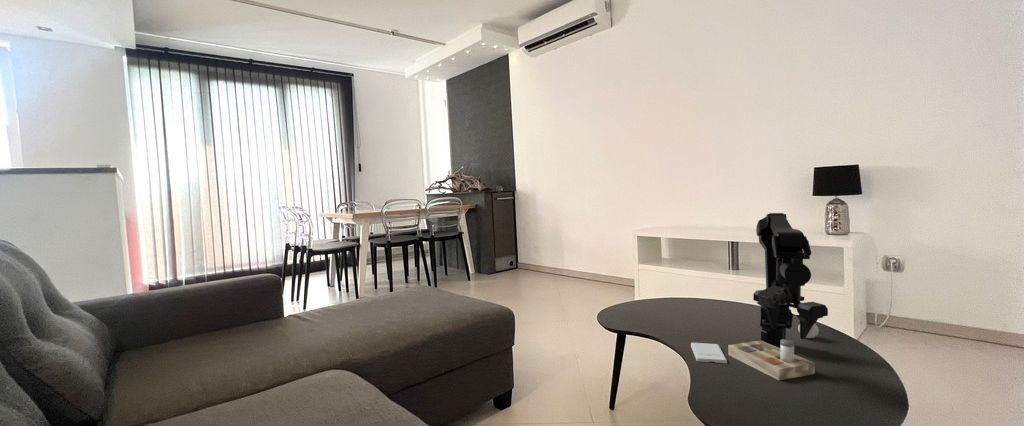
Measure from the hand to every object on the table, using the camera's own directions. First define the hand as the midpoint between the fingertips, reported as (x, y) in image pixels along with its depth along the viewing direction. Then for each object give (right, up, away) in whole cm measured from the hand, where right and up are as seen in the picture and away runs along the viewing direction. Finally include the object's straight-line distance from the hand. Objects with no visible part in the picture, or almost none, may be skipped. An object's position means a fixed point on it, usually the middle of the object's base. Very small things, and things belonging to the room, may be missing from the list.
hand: (787, 333), depth 121 cm
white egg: (+22, -8, +25) cm, 34 cm away
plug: (0, -10, +1) cm, 10 cm away
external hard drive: (-16, -11, +13) cm, 23 cm away
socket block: (-2, -10, +5) cm, 11 cm away
